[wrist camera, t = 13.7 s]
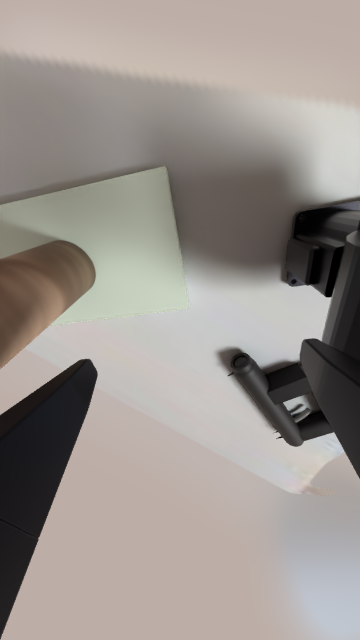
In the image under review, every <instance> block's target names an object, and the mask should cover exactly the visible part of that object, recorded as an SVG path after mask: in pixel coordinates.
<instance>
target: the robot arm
mask: <svg viewBox="0 0 360 640" xmlns="http://www.w3.org/2000/svg"><path fill="white" fill-rule="evenodd" d="M300 215H303V219H302V220H301V221H299V216H300ZM286 269H287V270H288V273H287V284H288V285H289V286H292V287H293V286H301V285H307V286H308V285H311V286H313V287H314V288H315V289H316V290H318V291H319V292H320V293H321V294H323V295H324V296H325V297H332V298H331V302H330V307H329V311H328V315H327V319H326V323H325V327H324V331H323V335H322V341H320V340H318V339H305V340H303V342H302V346H301V351H300V361H301V363H302V366H303V368H304V371H305V373H306V376H307V378H308V381H309V383H310V386H311V388H312V390H313V393H314V395H315V397H316V399H317V401H318V403H319V405H320V407H321V409H322V410H323V412H324V414H325V416H326V418H327V420H328V421H329V423H330V425H331V427H332V429H333V431H334V432H335V434H336V436H337V438H338V440H339V442H340V443H341V445H342V447H343V449H344V451H345V453H346V454H347V456H348V458H349V460H350V462H351V463H352V465H353V467H354V469H355V471H356V473H357V475H358V476H359V478H360V200H358V201H352V202H347V203H341V204H336V205H330V206H325V207H319V208H314V209H308V210H303V211H299V212H297V213H296V214H295V216H294V218H293V227H292V236H291V238H290V239H289V241H288V247H287V257H286ZM293 279H295V281H294V282H292V283H291V281H292V280H293ZM97 375H98V374H97V370H96V368H95V367H94V365H93V363H92V361H91V360H90V359H81V360H79V361H77V362H76V363H75V364H73V365H72V366H70V367H69V368H67V369H66V370H65V371H63V372H62V373H60V374H59V375H57V376H56V377H54V378H53V379H52V380H50V381H49V382H47V383H46V384H44V385H43V386H42V387H40V388H39V389H37V390H36V391H34V392H33V393H31V394H30V395H29V396H27V397H26V398H24V399H23V400H22V401H20V402H19V403H17V404H16V405H14V406H13V407H11V408H10V409H8V410H7V411H6V412H4V413H3V414H1V415H0V639H1V636H2V634H3V631H4V628H5V626H6V623H7V621H8V618H9V615H10V613H11V610H12V608H13V605H14V602H15V600H16V597H17V594H18V592H19V589H20V586H21V584H22V581H23V579H24V576H25V574H26V571H27V568H28V566H29V563H30V560H31V558H32V555H33V553H34V550H35V547H36V545H37V542H38V538H39V536H40V534H41V531H42V529H43V526H44V524H45V521H46V518H47V516H48V513H49V510H50V508H51V505H52V503H53V500H54V497H55V495H56V492H57V489H58V487H59V484H60V482H61V479H62V477H63V474H64V471H65V469H66V466H67V464H68V461H69V458H70V456H71V453H72V451H73V448H74V445H75V443H76V440H77V437H78V435H79V432H80V429H81V427H82V424H83V422H84V419H85V417H86V414H87V411H88V408H89V405H90V402H91V398H92V394H93V391H94V387H95V384H96V380H97Z"/></svg>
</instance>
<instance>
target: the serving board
mask: <svg viewBox="0 0 360 640" xmlns="http://www.w3.org/2000/svg"><path fill="white" fill-rule="evenodd" d="M57 240H63V241H68V242H71V243H73V244H75V245H77V246H79V247H80V248H81V249H82V250H84V251H85V252H86V253H87V255H88V256H89V257H90V259H91V260H92V262H93V264H94V267H95V271H96V279H95V282H94V285H93V286H92V287H91V288H90V289H89V290H88V291H87V292H86V293H85V294H84V295H83V296H81V297H80V298H79V299H78V300H77V301H76V302H75V303H74V304H73V305H71V306H70V307H69V308H68V309H67V310H66V311H65V312H64V313H63V314H61V315H60V316H59V317H58V318H57V319H56V320H55V321H54V322H52V323H51V324H50V325H49V326H52V325H60V324H68V323H77V322H85V321H93V320H102V319H110V318H118V317H126V316H135V315H143V314H151V313H160V312H168V311H176V310H184V309H189V308H190V302H189V296H188V290H187V284H186V278H185V272H184V267H183V261H182V255H181V249H180V243H179V237H178V231H177V225H176V219H175V213H174V207H173V201H172V195H171V190H170V184H169V178H168V172H167V168H166V167H165V166H163V167H159V168H154V169H150V170H146V171H142V172H137V173H133V174H129V175H125V176H120V177H116V178H112V179H108V180H103V181H99V182H95V183H91V184H87V185H82V186H78V187H74V188H70V189H65V190H61V191H57V192H53V193H48V194H44V195H40V196H36V197H31V198H27V199H23V200H19V201H14V202H10V203H6V204H2V205H0V259H1V258H4V257H7V256H10V255H13V254H16V253H19V252H22V251H25V250H28V249H31V248H34V247H37V246H40V245H43V244H46V243H49V242H52V241H57Z"/></svg>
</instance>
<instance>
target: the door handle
mask: <svg viewBox="0 0 360 640" xmlns="http://www.w3.org/2000/svg"><path fill="white" fill-rule="evenodd" d="M231 367H232V369H233V373H232V374H235V376H236V377H237V378H238V380H239V381H240V382H241V384H242V385H243V386H244V388H245V389H246V390H247V391H248V393H249V394H250V395H251V397H252V398H253V399H254V401H255V402H256V403H257V404H258V406H259V407H260V408H261V410H262V411H263V412H264V414H265V415H266V416H267V418H268V419H269V420H270V421H271V423H272V424H273V425H274V427H275V428H276V429H277V431H276V432H279V433H280V435H281V437H278V438H284V440H285V441H286V442H287V443H288V444H289V445H291V446H295V447H297V446H300V445H302V444H303V442H304V441H306V440H309V439H313V438H316V437H319V436H323V435H326V434H329V433H333V432H334V431H333V429H332V427H331V425H330V423H329V421H328V420H327V418H326V416H325V414H324V412H323V410H322V409H321V407H320V405H319V403H318V401H317V399H316V397H315V395H314V393H313V390H312V388H311V386H310V383H309V381H308V378H307V376H306V373H305V371H304V368H303V366H302V365H301V366H299V364H298V363H295V364H293V365H290V366H287V367H285V368H282V369H279V370H277V371H274V372H271V373H268V374H266V375H264V374H263V372H262V371H261V369H260V368H259V366H258V365H257V363H256V362H255V361H254V360H253V359H252V358H250V356H249V355H248V354H246V353H241V354H238V355H236V356H235V357H234V358H233V359H232V360H231ZM232 374H230V375H232ZM230 375H228V376H230ZM310 392H311V393H312V394H313V396H314V398H315V400H316V402H317V404H318V405H319V407H320V409H321V411H322V412H321V413H318V414H315V415H312V416H309V417H306V416H307V415H308V414H309V413H310V412H311V410H310V409H309V408H306V409H305V410H304V411H303V412H302V413H301V414H299V415H298V416H296V417H295V418H293V417H292V416H291V414H290V413H289V411H288V410H287V408H286V407H285V405H284V404H283V402H285V401H288V400H291V399H293V398H296V397H299V396H302V395H304V394H307V393H310ZM305 417H306V418H305ZM276 432H274V433H276ZM278 438H276V439H278Z"/></svg>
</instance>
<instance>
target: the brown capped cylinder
mask: <svg viewBox="0 0 360 640" xmlns="http://www.w3.org/2000/svg"><path fill="white" fill-rule="evenodd" d="M95 279H96V271H95V267H94V264H93V262H92V260H91V259H90V257H89V256H88V255H87V253H86V252H85V251H84V250H82V249H81V248H80V247H79V246H77V245H75V244H73V243H71V242H68V241H63V240H57V241H52V242H49V243H46V244H43V245H40V246H37V247H34V248H31V249H28V250H25V251H22V252H19V253H16V254H13V255H10V256H7V257H4V258H1V259H0V369H1V368H2V367H3V366H4V365H5V364H7V363H8V362H9V361H10V360H11V359H12V358H13V357H15V356H16V355H17V354H18V353H19V352H20V351H21V350H22V349H23V348H25V347H26V346H27V345H28V344H29V343H30V342H31V341H32V340H33V339H35V338H36V337H37V336H38V335H39V334H40V333H41V332H42V331H44V330H45V329H46V328H47V327H48V326H49V325H50V324H51V323H52V322H54V321H55V320H56V319H57V318H58V317H59V316H60V315H61V314H63V313H64V312H65V311H66V310H67V309H68V308H69V307H70V306H71V305H73V304H74V303H75V302H76V301H77V300H78V299H79V298H80V297H81V296H83V295H84V294H85V293H86V292H87V291H88V290H89V289H90V288H91V287H92V286H93V285H94V282H95Z"/></svg>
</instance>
